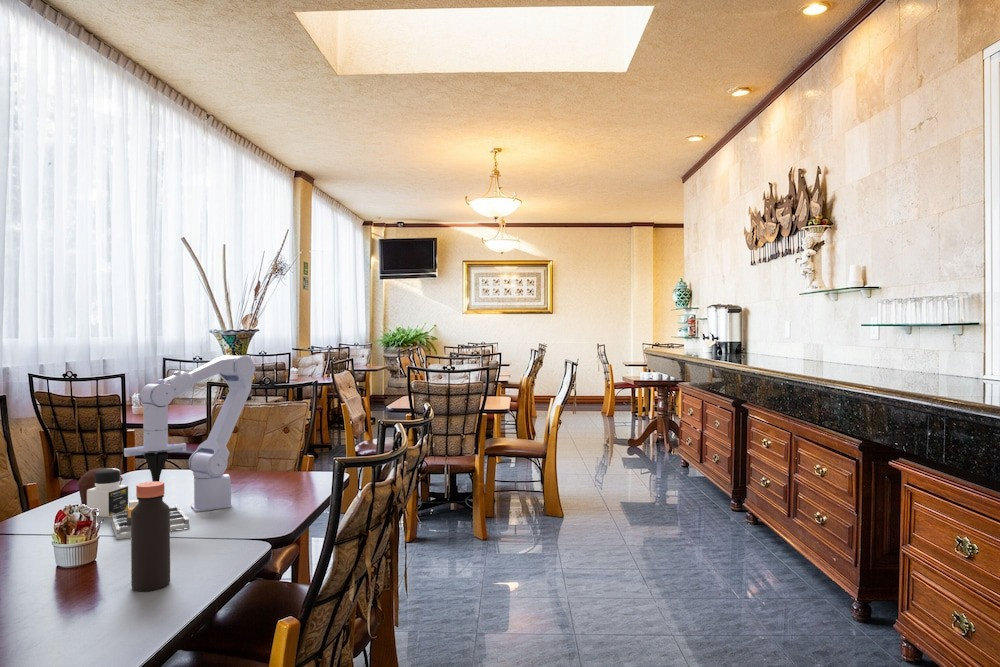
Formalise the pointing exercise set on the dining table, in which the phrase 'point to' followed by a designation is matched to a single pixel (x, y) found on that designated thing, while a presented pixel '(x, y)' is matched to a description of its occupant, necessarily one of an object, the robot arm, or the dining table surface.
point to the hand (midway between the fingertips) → (155, 481)
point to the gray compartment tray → (123, 531)
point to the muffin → (88, 483)
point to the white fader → (132, 504)
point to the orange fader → (129, 516)
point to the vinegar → (150, 538)
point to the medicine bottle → (108, 493)
